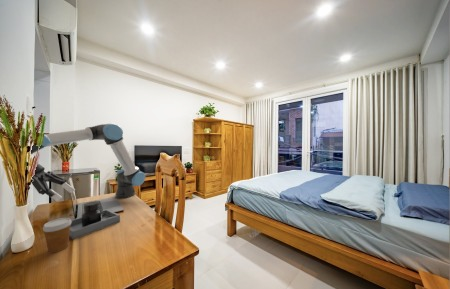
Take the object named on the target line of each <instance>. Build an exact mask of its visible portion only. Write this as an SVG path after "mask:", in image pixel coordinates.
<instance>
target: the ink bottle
mask: <svg viewBox="0 0 450 289" xmlns="http://www.w3.org/2000/svg"><path fill="white" fill-rule="evenodd" d="M101 211H102V210H101V209H100V201H97V200H94V201H89V202H86V203H84V204H83V213H82V214H81V217H82V227H85V226H88V225H91V224H94V223H97V222H99V221H102V212H101Z"/></svg>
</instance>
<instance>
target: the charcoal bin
mask: <svg viewBox="0 0 450 289" xmlns="http://www.w3.org/2000/svg"><path fill="white" fill-rule="evenodd" d="M101 212H102V221H99V222H97V223H94V224H91V225H88V226H85V227H82V216H81V217H78V218H74V219H70V220H71V221H72V223H71V225H70V233H69V239H71V240H76V239H78V238H81V237H85V236H87V235H89V234H91V233H94V232H97V231H99V230H102V229H104V228H107V227H110V226H112V225H115V224H117V223H120V222H121V215H120V214H118V213H116V212H114V211H112V210H110V209H104V210H101Z"/></svg>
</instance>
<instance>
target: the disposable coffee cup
mask: <svg viewBox="0 0 450 289" xmlns="http://www.w3.org/2000/svg"><path fill="white" fill-rule="evenodd" d="M71 220H72V219H71V218H70V217H61V218H56V219H53V220H50V221H48V222H46V223H44V224H43V227H42V230H43V233H44V237H45V242H46V245H47V250H48V253H52V254H53V253H54V254H55V253H57V252H61V251H63V250H65V249H66V248H68V246H69V239H70V237H69V233H70V225H71V223H72V221H71Z"/></svg>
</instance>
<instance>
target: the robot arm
mask: <svg viewBox="0 0 450 289" xmlns="http://www.w3.org/2000/svg"><path fill="white" fill-rule="evenodd" d="M43 134H44V133H43ZM123 134H124V132H123V128H122V127H121V126H120V125H118V124H116V123H106V124H97V125H93V126H89V127H85V128H84V129H77V130H75V129H74V130H69V131H61V132H59V131H58V132H53V133H45V134H44V137H43V143H42V145H41V146H40V148H39V150H38V146H36V145H33V146H32V150H31V155H33V154H35V153H36V152H38V151H40V150H43V149H44V148H47V147H53V146H57V145H63V144H70V143H77V142H81V141H87V140H88V141H96V140H97V141H99V140H100V141H101V140H102V141H104V142H105V145H107V146H109V147H110V148H111V150H112V152H113V154H114V155H115V157H116V159H117V161H118V163H119V165H120V166H121V167H122V169H118V170H117V171H116V180H117V182H116V184H117V188H116V189H115V190H116V191H115V193H114V196H115V197H114V198H117V199H126V198H131V197H133V196H135V194H136V190H135V188H134V187H139V186H141V185H143V183H144V182H145V180H146V174H145V172H143V171H141V170H140V167H138V166H136V165H135V163H134V161H133V159H132V157H131V156H130V153H129V152H128V150H127V147H126V145H125V143H124V141H123V140H124V137H123ZM32 179H33V182H32V183H31V184H32V186H33V187H34V189H35V190H36V191H37V192H38V194H39V195H47V196H48V197H49V198H51V199H52V200H54V201H55V202H59V201H60V200H61V199H62V198H63V196H62V195H60V194H59V193H58V192H56V191H54V190H53V189H51V188H49V185H48V183H49V182H50V183H54V184H57V185H60V187H61V188H63V189H65V191H67V192H68V193H70V194H72V193H73V192H75V191H76V189H75V188H74V187H73V186H71V185H70V184H68V183H67V182H68V180H67V179H66V178H63V176H59V175H57V174H55V173H53V172H52V171H50V170H48V171H47V172H46V171H45V167H44V166H43V165H41V164H39V163H38V162H37V167H36V170H35V175H34V176H33V177H32Z"/></svg>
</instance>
